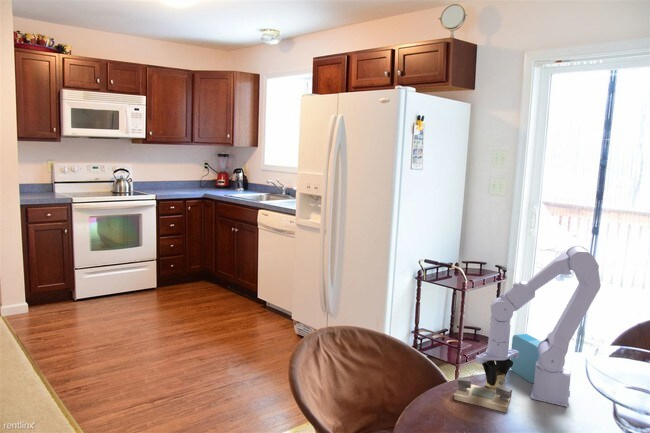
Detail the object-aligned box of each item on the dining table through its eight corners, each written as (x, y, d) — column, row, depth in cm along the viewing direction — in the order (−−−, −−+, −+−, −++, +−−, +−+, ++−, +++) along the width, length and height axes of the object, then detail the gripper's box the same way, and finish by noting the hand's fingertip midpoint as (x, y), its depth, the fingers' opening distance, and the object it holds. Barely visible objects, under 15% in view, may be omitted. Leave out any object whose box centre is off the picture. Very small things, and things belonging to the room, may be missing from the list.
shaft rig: (512, 398, 144) (513, 383, 143) (508, 412, 136) (509, 396, 135) (459, 386, 150) (460, 371, 150) (452, 399, 142) (453, 383, 142)
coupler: (504, 390, 149) (506, 374, 148) (496, 392, 147) (498, 376, 147) (492, 383, 153) (494, 367, 152) (484, 385, 152) (486, 369, 151)
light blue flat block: (547, 384, 154) (551, 346, 153) (534, 385, 153) (538, 347, 151) (520, 367, 166) (524, 332, 164) (509, 369, 164) (512, 333, 163)
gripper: (508, 331, 155) (504, 374, 157) (469, 337, 149) (466, 381, 151) (525, 339, 148) (521, 384, 150) (486, 345, 143) (482, 391, 144)
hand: (495, 383), depth 150 cm, fingers closed on coupler, 3 cm apart
